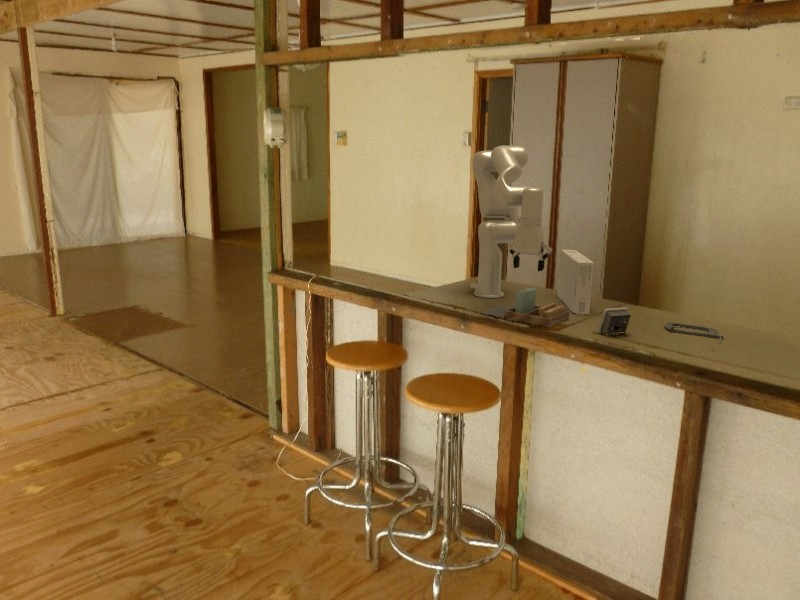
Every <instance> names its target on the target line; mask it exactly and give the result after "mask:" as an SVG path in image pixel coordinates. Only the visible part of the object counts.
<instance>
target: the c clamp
mask: <svg viewBox="0 0 800 600" xmlns="http://www.w3.org/2000/svg"><path fill="white" fill-rule="evenodd" d="M673 326H674V327H673ZM675 326H680V327H679V328H677V327H675ZM664 327H665V329H666V330H668V331H669V333H679V332H680V333H681V334H686V333H687V335H693V334H694V336H700V337H708V338H712V339H718V344H719V345H722V339H724V334H720V333H719V331H718V330H717V329H715V328H712V327H706V326H700V325H693V324H686V323H679V322H666V323H665V324H664ZM682 327H685V328H684V329H683V328H682ZM689 328H692V329H691V330H690V329H689ZM696 329H699V330H698V331H697V330H696Z"/></svg>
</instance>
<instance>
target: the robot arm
mask: <svg viewBox="0 0 800 600" xmlns="http://www.w3.org/2000/svg"><path fill="white" fill-rule="evenodd" d="M528 159H529V154H528V150H527V149H526V148H525V147H524V146H522V145H498V146H495V147H494V148H493V149H492V150H491V149H490V150H487V149H486V150H480V151H477V152H476V153H475V154H474V156H473V157H472V172H473V175H474V176H473V177H474V179H475V182H476V184H477V193H478V205H479V212H480V214H481V216H482V217H484V218H489V220H484V221H482V222H480V224H479V225H478V228H477V229H478V230H477V233H478V235H477V236H478V243H479V244H478V245H479V246H478V247H479V255H478V256H479V257H478V276H477V277H478V278H477V283H476V282H471V283H470V288H471V289H475V290H474V291H473V295H474V296H476V297H479V298H484V299H499V298H503V297H504V295H505V292H504V291H501V287H502V286H501V285H502V267H503V253H502V250H501V249H500V247H499V244H507V248H508V251H509V253H510V254H511V255H512V258H513V264H512V265H513V269H518V268H520V261H521V260H520V259H521V258H520V255H521V254H522V255H523V254H524V255H533V256H537V257H538V262H537V271H538V272H542V271H544V268H545V262H546V259H548V258H549V257H550V255H551V253H552V251H553V248H552V247H550V246H549V245H548V244H547V243H545V233H544V226H542V223H543V222H542V221H543V220H542V219H543V205H544V203H543V202H544V190H543V189H542V188H541V187H535V186H531V185H529V186H528V185H525V186H523V185H511V184H513V183H515V182H517V181H518V180H519V179H520V178H521V175H522V168H524V167H525V166H526V165H527V164H528ZM491 172H495V173H496V172H497V173H498V177H497V178H495V177H494V175H493V174H492V173H491ZM519 207H520V209H519ZM519 210H520V212H519ZM490 218H491V220H490ZM492 218H496V219H492ZM498 218H504V219H498ZM544 251H545V253H544Z"/></svg>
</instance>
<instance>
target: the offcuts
mask: <svg viewBox="0 0 800 600" xmlns="http://www.w3.org/2000/svg"><path fill="white" fill-rule="evenodd" d="M564 310H565V306H564V305H559V306H557V303H555V302H551V303H548V304H547V305H544V307H541V308H539V317H544V318H551V317H553V316H555V315H558V314H560V313H562V312H564Z"/></svg>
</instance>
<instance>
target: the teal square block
mask: <svg viewBox="0 0 800 600" xmlns="http://www.w3.org/2000/svg"><path fill="white" fill-rule="evenodd" d="M515 294H516V295H515V305H514V307H515V312H517V313H523V314H524V313H527V312H529V311H532V310H534V309H535V305H536V294H537V289H536V288H531V287H527V288H525V289H521V290H519V291H516V293H515Z"/></svg>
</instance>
